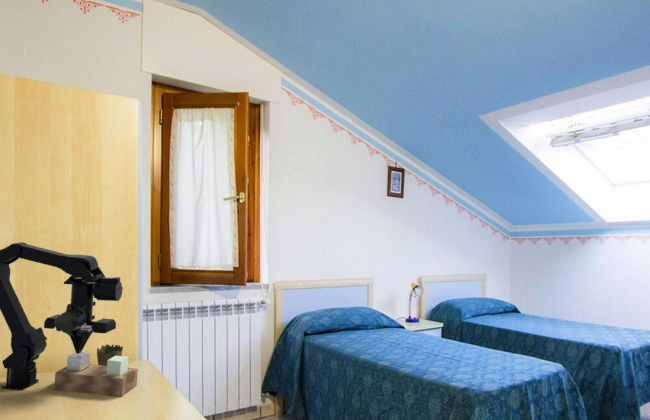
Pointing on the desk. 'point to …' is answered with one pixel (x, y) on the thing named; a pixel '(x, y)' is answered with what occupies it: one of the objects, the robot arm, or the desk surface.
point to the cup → (108, 353)
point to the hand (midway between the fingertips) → (78, 353)
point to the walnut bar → (95, 381)
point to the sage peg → (117, 365)
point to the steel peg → (78, 362)
